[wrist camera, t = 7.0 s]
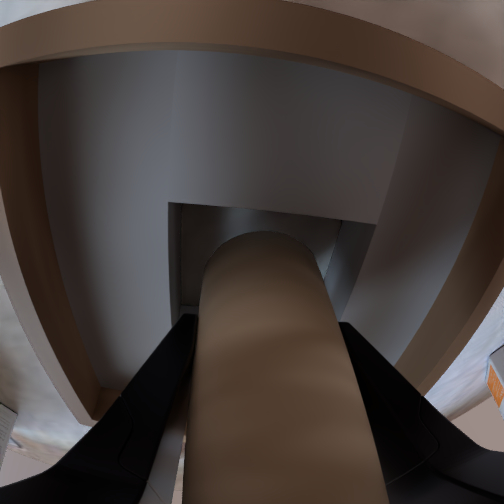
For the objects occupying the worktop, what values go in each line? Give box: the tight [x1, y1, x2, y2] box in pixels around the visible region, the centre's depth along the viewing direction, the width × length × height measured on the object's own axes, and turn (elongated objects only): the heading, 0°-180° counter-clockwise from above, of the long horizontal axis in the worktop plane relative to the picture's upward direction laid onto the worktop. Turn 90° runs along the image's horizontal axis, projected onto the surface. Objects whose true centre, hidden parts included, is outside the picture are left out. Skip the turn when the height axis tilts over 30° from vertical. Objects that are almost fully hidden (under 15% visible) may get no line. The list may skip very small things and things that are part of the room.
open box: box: [0, 0, 504, 443], centre depth 10 cm, size 16×16×4 cm
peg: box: [182, 231, 389, 504], centre depth 7 cm, size 4×4×8 cm
